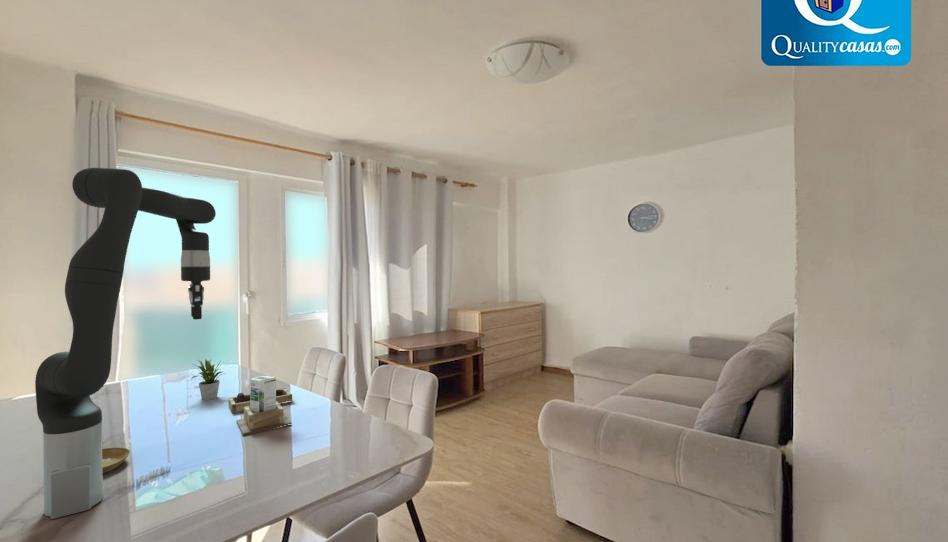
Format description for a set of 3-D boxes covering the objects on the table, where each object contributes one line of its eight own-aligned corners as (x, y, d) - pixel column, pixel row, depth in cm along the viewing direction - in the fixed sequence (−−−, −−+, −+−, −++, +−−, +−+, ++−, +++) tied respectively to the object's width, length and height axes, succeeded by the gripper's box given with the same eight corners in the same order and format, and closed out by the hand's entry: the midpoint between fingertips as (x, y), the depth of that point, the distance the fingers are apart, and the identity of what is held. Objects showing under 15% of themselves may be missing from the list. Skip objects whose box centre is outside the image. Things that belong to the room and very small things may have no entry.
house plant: (175, 401, 161) (174, 359, 161) (207, 391, 174) (207, 352, 174) (203, 405, 157) (203, 361, 157) (234, 394, 170) (234, 354, 170)
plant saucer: (133, 469, 107) (133, 459, 107) (51, 491, 97) (51, 480, 97) (127, 451, 118) (127, 442, 117) (53, 469, 107) (53, 459, 107)
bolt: (280, 383, 163) (237, 390, 153) (284, 392, 160) (240, 400, 150) (278, 394, 166) (236, 402, 156) (282, 403, 162) (238, 412, 152)
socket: (291, 425, 136) (291, 409, 136) (242, 436, 127) (242, 418, 127) (281, 413, 147) (281, 398, 147) (236, 422, 139) (236, 406, 139)
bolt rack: (292, 402, 159) (292, 394, 159) (232, 413, 147) (232, 405, 147) (285, 395, 168) (285, 388, 168) (228, 405, 156) (228, 397, 156)
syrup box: (249, 423, 136) (248, 378, 136) (265, 417, 141) (265, 374, 141) (261, 426, 133) (260, 380, 133) (277, 419, 139) (276, 376, 138)
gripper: (212, 265, 125) (212, 319, 125) (208, 265, 136) (208, 315, 137) (181, 265, 120) (182, 321, 121) (180, 265, 132) (180, 316, 132)
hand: (196, 317), depth 129 cm, fingers open, 8 cm apart
